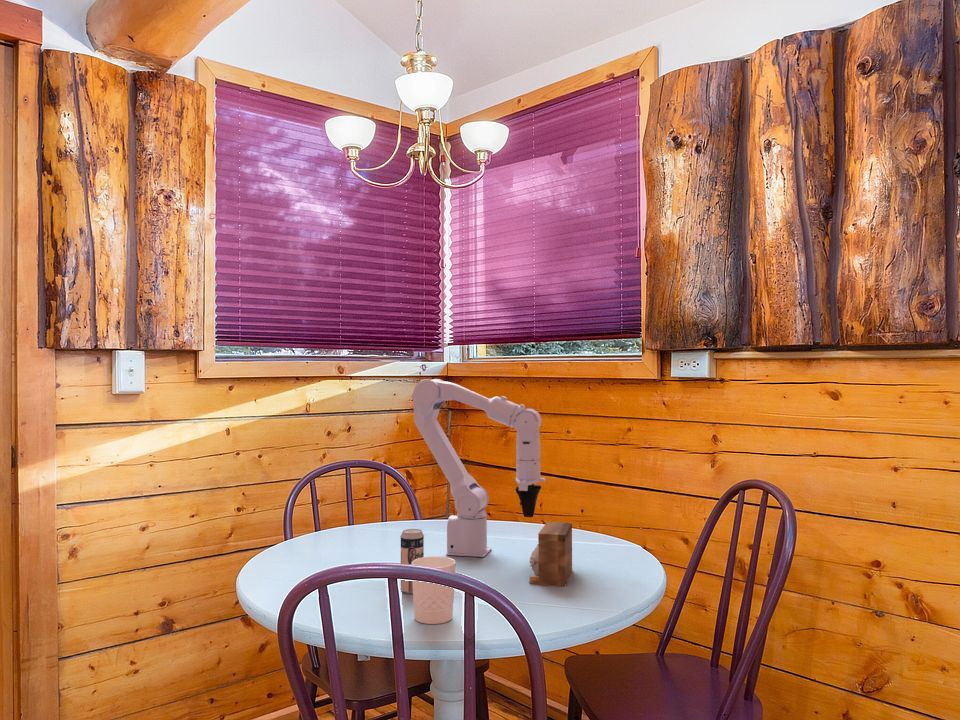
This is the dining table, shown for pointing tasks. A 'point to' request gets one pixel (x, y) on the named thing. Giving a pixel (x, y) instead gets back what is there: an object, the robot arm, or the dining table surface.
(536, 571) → the pink clay lump
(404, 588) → the beer can
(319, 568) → the dining table surface
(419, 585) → the pink cup
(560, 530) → the upright wooden block
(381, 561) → the dining table surface
